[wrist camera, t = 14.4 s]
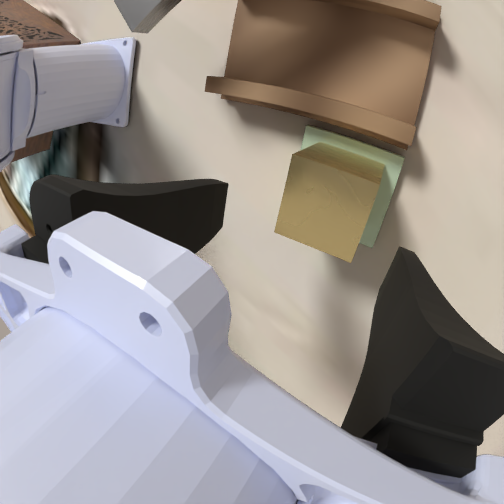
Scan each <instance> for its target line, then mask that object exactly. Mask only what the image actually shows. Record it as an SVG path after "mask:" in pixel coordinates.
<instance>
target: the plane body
mask: <svg viewBox="0 0 504 504" xmlns="http://www.w3.org/2000/svg"><path fill="white" fill-rule="evenodd" d="M440 13H441V6H439V5H437V4H434V3H431V2H428V1H425V0H238V4H237V9H236V14H235V19H234V24H233V30H232V35H231V41H230V46H229V52H228V58H227V64H226V70H225V76H224V77H215V76H207V79H206V86H205V92H211V93H218V94H222V95H221V99H227V100H232V101H238V102H243V103H248V104H253V105H258V106H263V107H267V108H272V109H276V110H280V111H285V112H289V113H293V114H297V115H301V116H304V117H308V118H312V119H316V120H319V121H323V122H326V123H330V124H333V125H336V126H340V127H343V128H346V129H349V130H352V131H355V132H358V133H362V134H364V135H367V136H370V137H373V138H376V139H379V140H382V141H384V142H387V143H390V144H393V145H395V146H398V147H400V148H403V149H406V150H407V148H408V145H410V146H411V144H412V141H413V138H414V134H415V131H416V127H415V126H414V124H415V121H416V117H417V113H418V109H419V105H420V101H421V97H422V93H423V89H424V85H425V80H426V76H427V71H428V67H429V62H430V57H431V52H432V46H433V41H434V35H435V30H436V28H437V26H438V24H439V20H440Z"/></svg>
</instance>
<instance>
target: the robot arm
mask: <svg viewBox="0 0 504 504" xmlns="http://www.w3.org/2000/svg"><path fill="white" fill-rule="evenodd" d="M126 43H127V45H126ZM22 47H23V40H21V39H20V38H19V36H18V35H3V36H0V172H1V171H2V170H3V169H4V168H5V167H6V166H7V165H8V164H9V163H10V162H11V161H12V160H13V158H14V155H15V150H17V149H20V148H23V147H25V146H26V138H29V137H33V136H36V135H39V134H43V133H46V132H50V131H54V130H57V129H61V128H65V127H69V126H73V125H77V124H82V123H86V122H94V123H100V124H106V125H112V126H118V127H126V126H127V124H128V118H129V103H130V91H131V80H132V71H133V62H134V54H135V47H136V39H135V38H134V37H127V38H118V39H110V40H103V41H97V42H91V43H85V44H80V45H62V46H49V47H38V48H29V49H24V48H22ZM119 120H120V122H119ZM227 190H228V183H225V182H222V181H219V180H215V179H195V180H184V181H173V182H160V183H146V184H121V183H103V182H93V181H86V180H79V179H74V178H69V177H64V176H59V175H48V176H46V177H44V178H41V179H39V180H36V181H34V183H33V185H32V187H31V190H30V208H31V213H32V219H33V224H34V229H35V234H36V236H34V237H32V238H29V236H28V234H27V233H26V232H25V231H24V230H23V229H21V228H20V227H19V226H18V225H16V224H14V225H12V226H11V227H9V228H7V229H5V230H3V231H1V232H0V317H1V318H2V320H3V321H4V322H5V324H6V325H7V327H8V328H9V329H10V331H11V333H10V334H8V335H7V336H6V337H5V338H3V339H2V340H1V341H0V504H504V457H502V456H496V455H491V454H482V455H478V456H476V455H477V446H479V445H481V444H482V442H483V431H484V430H486V429H487V428H488V427H489V426H491V425H492V424H493V423H494V422H495V421H496V420H498V419H499V418H500V417H501V416H502V415H503V414H504V354H503V353H502V352H500V351H499V350H498V349H496V348H495V347H493V346H492V345H491V344H490V343H489V342H487V341H486V340H485V339H484V338H483V337H481V336H480V335H479V334H478V333H477V332H476V331H475V330H474V329H473V328H472V327H471V326H470V325H469V324H468V323H467V322H466V321H465V320H464V319H463V318H462V317H461V316H460V315H459V314H458V313H457V312H456V310H455V309H454V308H453V307H452V306H451V304H450V303H449V302H448V301H447V300H446V298H445V297H444V296H443V294H442V293H441V291H440V290H439V289H438V287H437V286H436V284H435V283H434V281H433V280H432V278H431V277H430V275H429V274H428V272H427V270H426V269H425V267H424V266H423V264H422V263H421V261H420V260H419V258H418V257H417V255H416V254H415V253H414V252H412V251H410V250H407V249H405V248H402V247H400V246H399V249H398V251H397V253H396V255H395V257H394V260H393V262H392V264H391V266H390V268H389V271H388V273H387V275H386V277H385V279H384V281H383V283H382V285H381V287H380V289H379V293H378V296H377V300H376V304H375V307H374V312H373V319H372V326H371V332H370V339H369V345H368V351H367V356H366V360H365V364H364V367H363V370H362V374H361V377H360V380H359V383H358V385H357V388H356V391H355V394H354V396H353V399H352V402H351V404H350V407H349V409H348V412H347V414H346V416H345V419H344V421H343V424H342V426H341V428H340V427H339V426H337V425H336V424H334V423H332V422H331V421H329V420H328V419H326V418H325V417H323V416H322V415H320V414H319V413H317V412H316V411H314V410H313V409H311V408H310V407H308V406H307V405H305V404H304V403H303V402H301V401H300V400H298V399H297V398H295V397H294V396H292V395H291V394H290V393H288V392H287V391H285V390H284V389H283V388H281V387H280V386H278V385H277V384H276V383H274V382H273V381H272V380H270V379H269V378H267V377H266V376H265V375H263V374H262V373H261V372H259V371H258V370H257V369H255V368H254V367H253V366H251V365H250V364H249V363H247V362H246V361H245V360H244V359H242V358H241V357H240V356H238V355H237V354H236V353H234V352H233V351H232V350H231V348H230V347H229V345H228V332H229V326H230V320H231V309H230V301H229V294H228V291H227V289H226V288H225V286H224V284H223V283H222V281H221V280H220V278H219V277H218V275H217V274H216V272H215V271H214V269H213V268H212V266H210V265H209V264H208V263H206V262H205V261H203V260H202V259H201V258H199V257H198V256H197V255H195V253H197V252H198V251H199V250H200V249H201V248H203V247H204V246H205V245H206V244H207V243H208V242H209V241H210V240H211V239H212V238H213V237H214V236H215V235H216V234H217V233H218V231H219V230H220V229H221V228H222V226H223V218H224V211H225V204H226V197H227Z"/></svg>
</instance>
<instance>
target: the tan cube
mask: <svg viewBox="0 0 504 504" xmlns="http://www.w3.org/2000/svg"><path fill="white" fill-rule="evenodd" d="M384 166H385V164H382V163H380V162H377V161H375V160H372V159H369V158H366V157H364V156H361V155H358V154H355V153H352V152H350V151H347V150H344V149H341V148H338V147H335V146H332V145H329V144H326V143H322V142H318V143H316V144H314V145H311V146H309V147H307V148H305V149H303V150H301V151H298V152H296V153H294V154H292V159H291V163H290V167H289V172H288V176H287V180H286V185H285V189H284V193H283V197H282V202H281V206H280V210H279V214H278V219H277V223H276V227H275V231H274V232H275V233H278V234H280V235H283V236H285V237H288V238H290V239H293V240H295V241H298V242H300V243H303V244H305V245H308V246H310V247H313V248H315V249H318V250H320V251H323V252H325V253H328V254H330V255H332V256H335V257H337V258H340V259H342V260H345V261H347V262H350V263H351V261H352V259H353V256H354V254H355V251H356V249H357V246H358V244H359V241H360V239H361V236H362V234H363V231H364V228H365V226H366V223H367V220H368V218H369V215H370V212H371V209H372V206H373V204H374V201H375V198H376V195H377V192H378V189H379V186H380V183H381V179H382V175H383V170H384Z"/></svg>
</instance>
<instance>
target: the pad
mask: <svg viewBox="0 0 504 504" xmlns="http://www.w3.org/2000/svg"><path fill="white" fill-rule="evenodd" d="M318 142H322V143H326V144H329V145H332V146H335V147H338V148H341V149H344V150H347V151H350V152H352V153H355V154H358V155H361V156H364V157H366V158H369V159H372V160H375V161H377V162H380V163H382V164H385V166H384V170H383V175H382V179H381V183H380V186H379V189H378V192H377V195H376V198H375V201H374V204H373V206H372V209H371V212H370V215H369V218H368V220H367V223H366V226H365V228H364V231H363V234H362V236H361V239H360V241H359V243H361V244H363V245H366V246H368V247H371V248H373V245H374V243H375V240H376V238H377V235H378V233H379V230H380V227H381V225H382V222H383V219H384V217H385V214H386V211H387V209H388V206H389V203H390V200H391V198H392V195H393V192H394V189H395V186H396V183H397V180H398V177H399V174H400V171H401V168H402V165H403V162H404V159H405V158H404V156H401V155H398V154H396V153H393V152H391V151H388V150H385V149H382V148H380V147H377V146H374V145H371V144H368V143H366V142H363V141H360V140H357V139H354V138H351V137H348V136H344V135H341V134H338V133H335V132H332V131H328V130H325V129H321V128H318V127H315V126H311V125H306V128H305V133H304V137H303V142H302V146H301V150H303V149H305V148H307V147H309V146H311V145H314V144H316V143H318Z"/></svg>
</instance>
